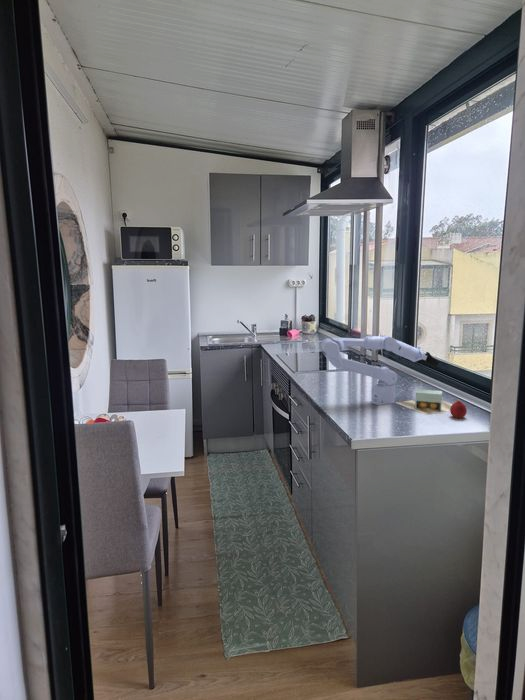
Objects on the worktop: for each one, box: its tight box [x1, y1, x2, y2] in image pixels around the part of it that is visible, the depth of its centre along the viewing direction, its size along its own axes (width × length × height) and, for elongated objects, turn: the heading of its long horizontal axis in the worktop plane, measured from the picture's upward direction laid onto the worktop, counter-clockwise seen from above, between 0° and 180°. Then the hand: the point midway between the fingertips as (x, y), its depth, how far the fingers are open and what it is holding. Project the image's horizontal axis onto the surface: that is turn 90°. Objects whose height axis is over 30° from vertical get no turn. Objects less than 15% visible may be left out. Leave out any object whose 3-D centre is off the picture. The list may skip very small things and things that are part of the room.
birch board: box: [395, 399, 453, 416], centre depth 192 cm, size 20×19×1 cm
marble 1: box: [420, 401, 427, 408], centre depth 188 cm, size 3×3×3 cm
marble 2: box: [430, 402, 437, 409], centre depth 187 cm, size 3×3×3 cm
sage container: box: [414, 388, 443, 411], centre depth 187 cm, size 10×6×7 cm, turn 67°
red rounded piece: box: [449, 399, 467, 419], centre depth 175 cm, size 6×6×8 cm
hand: (433, 362), depth 198 cm, fingers open, 7 cm apart
